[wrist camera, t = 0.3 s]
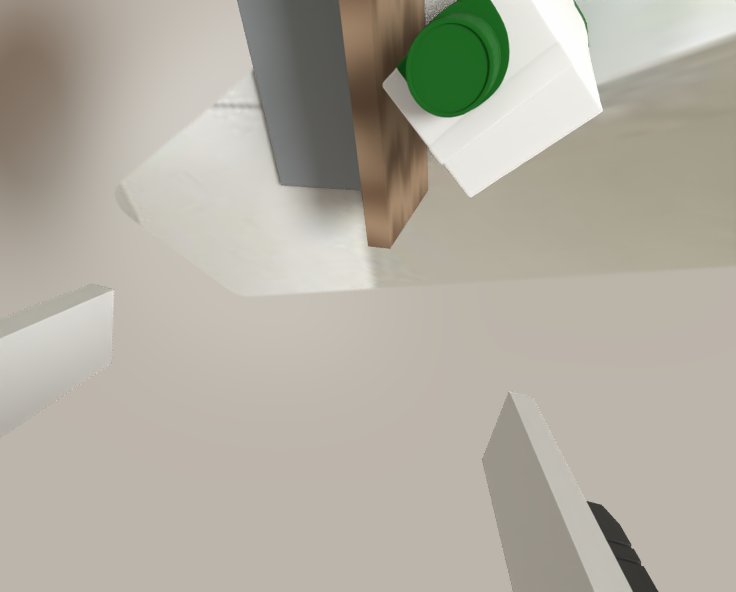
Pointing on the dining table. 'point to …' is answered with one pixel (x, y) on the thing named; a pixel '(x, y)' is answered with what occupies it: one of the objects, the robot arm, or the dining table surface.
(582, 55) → the soya milk
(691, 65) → the dining table surface
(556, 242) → the dining table surface
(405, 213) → the walnut screen
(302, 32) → the slate mat
